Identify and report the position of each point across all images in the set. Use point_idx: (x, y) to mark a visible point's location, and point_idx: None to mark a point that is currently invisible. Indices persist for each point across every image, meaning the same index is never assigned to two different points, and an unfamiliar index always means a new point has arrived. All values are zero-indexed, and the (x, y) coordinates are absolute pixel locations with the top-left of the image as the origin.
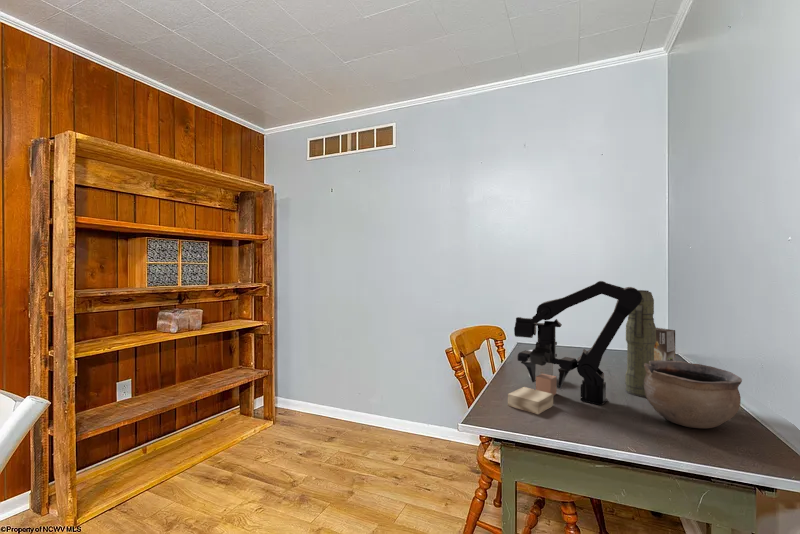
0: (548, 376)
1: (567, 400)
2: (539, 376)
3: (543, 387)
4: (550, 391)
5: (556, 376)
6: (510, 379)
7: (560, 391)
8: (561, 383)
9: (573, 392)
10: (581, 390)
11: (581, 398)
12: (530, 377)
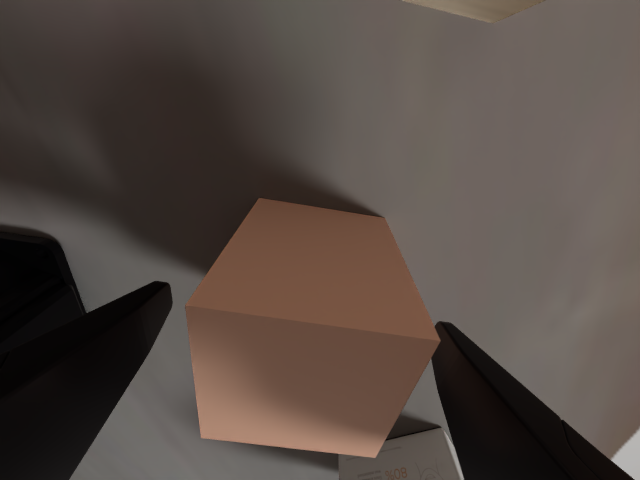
0: (276, 408)
1: (127, 201)
2: (386, 366)
3: (316, 243)
4: (244, 220)
5: (201, 436)
6: (576, 397)
7: None
8: (98, 314)
9: (185, 358)
10: (12, 319)
11: (51, 262)
12: (454, 448)
